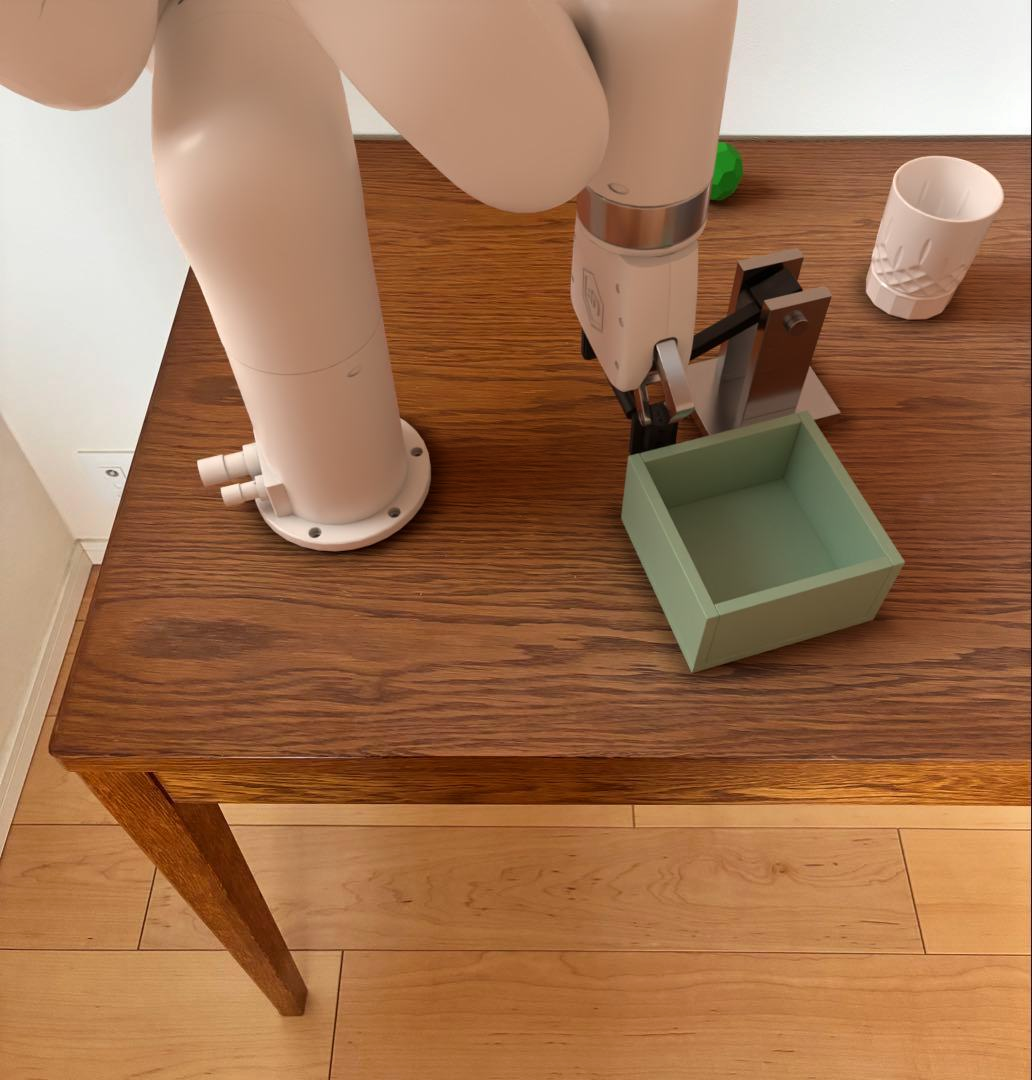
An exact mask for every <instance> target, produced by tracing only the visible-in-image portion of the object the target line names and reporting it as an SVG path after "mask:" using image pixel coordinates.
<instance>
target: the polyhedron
mask: <svg viewBox="0 0 1032 1080" xmlns="http://www.w3.org/2000/svg"><path fill="white" fill-rule="evenodd" d="M743 175H744V166H743V159H742V155H741V153H740V152H739V150H737V149H736V148H735V146H734V145H733V144H731V143H729V142H723V141H718V146H717V153H716V160H715V166H714V175H713V182H712V189H711V196H710V201H723V200H725V199H726V198H728V197H730V196H732V195H733V194H734V192H735V191H736V190H737V188H738V187H739V185H740V183H741V180H742V179H743Z"/></svg>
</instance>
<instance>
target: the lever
mask: <svg viewBox="0 0 1032 1080" xmlns="http://www.w3.org/2000/svg"><path fill="white" fill-rule="evenodd" d="M801 291H804V289H803V287H802V286H801V283H799V280H798V281H797V280H796V278H795V277H794V276H793V274H792V273H791V271H790V270H789V268H788V267H786V268H784V269H783V270H781V271H779V272H777V273H776V274H774V275H772V276H770V277H769V278H767V279H765V280H763V281H762V282H760V283H758V284H756V285H755V286H753V287H751V288H750V292H751V294H752V297H753V300H754V301H753V302H751V303H750V304H748V305H746V306H744V307H743V308H741V309H739V310H737V311H736V312H734V313H732V314H730V315H729V316H727V315H726V316H725V317H723V318H722V319H720V320H718V321H716V322H715V323H713V324H711V325H709V326H707V327H705V328H704V329H702V330H701V331H699V332H697V333H696V334H695V333H694V337H693V344H692V350H691V355H690V360H689V363H690V362H691V361H693V360H695V359H697V358H699V357H701V356H703V355H704V354H706V353H708V352H709V351H711V350H712V349H713V350H714V348H716V347H718V346H720V345H721V344H722V343H723V342H725V341H727V340H729V339H730V338H732V337H734V336H736V335H738V334H739V333H741V332H743V331H745V330H746V329H748V328H750V327H752V326H753V325H755V324H757V323H759V319H760V315H761V311H762V306H763V302H764V300H767V299H772V298H776V297H780V296H784V295H789V294H793V293H797V292H801ZM601 369H602V371H603V374H604V376H605V377H606V379H607V382H608V383H609V386H610V387H611V390H612V392H613V393H614V395H615V396H614V397H616V400H617V402H618V403H619V406H620V408H621V409H622V412H623V413H624V417H626V419H627V420H629V421H631V420H632V415H633V414H634V413H636V412H637V407H636V402H635V396H634V391H633V390H630V391H626V392H622V391H620V390H618V389H617V388H616V387H615V386H614V385H612V383H611V382H610V381H609V379H608V377H607V375H606V374H605V372H604V370H603V368H602V367H601ZM656 370H657V367H656V364H655V361H654V360H653V362H652V367H651V369H650V370H649V372H652V371H656ZM648 386H649V385H646V387H648Z"/></svg>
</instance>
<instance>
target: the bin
mask: <svg viewBox="0 0 1032 1080" xmlns="http://www.w3.org/2000/svg"><path fill="white" fill-rule="evenodd" d="M620 520H621V522H622V524H623V526H624V528H625V531H626V533H627V535H628V537H629V539H630V541H631V544H632V545H633V548H634V550H635V552H636V555H637V557H638V558H639V561H640V563H641V566H642V567H643V569H644V572H645V574H646V577H647V578H648V581H649V582H650V585H651V588H652V590H653V591H654V594H655V596H656V598H657V600H658V602H659V605H660V607H661V609H662V611H663V614H664V616H665V618H666V620H667V623H668V624H669V627H670V628H671V631H672V634H673V636H674V637H675V640H676V642H677V644H678V646H679V648H680V651H681V653H682V655H683V657H684V659H685V661H686V664H687V666H688V668H689V670H690V673H691V674H694V673H697V672H701V671H704V670H708V669H711V668H715V667H718V666H721V665H724V664H728V663H732V662H735V661H738V660H741V659H745V658H749V657H752V656H755V655H759V654H762V653H766V652H769V651H773V650H776V649H779V648H782V647H786V646H789V645H793V644H797V643H800V642H803V641H806V640H810V639H813V638H816V637H821V636H824V635H826V634H830V633H834V632H838V631H840V630H844V629H847V628H850V627H854V626H857V625H861V624H864V623H867V622H871V621H874V619H875V617H876V615H877V613H878V612H879V610H880V608H881V606H882V605H883V603H884V601H885V599H886V598H887V596H888V594H889V593H890V591H891V589H892V587H893V585H894V584H895V581H897V580H896V579H897V577H898V576H899V575H900V572H901V571H902V569H903V568H904V565H905V563H906V561H905V560H904V558H903V557H902V555H901V554H900V552H899V550H898V548H897V547H896V546H895V544H894V543H893V541H892V540H891V537H889V535H888V533H887V531H886V530H885V529H884V527H883V526H882V524H881V522H880V521H879V519H878V518H877V515H875V513H874V511H873V510H872V508H871V507H870V505H869V503H868V502H867V501H866V498H865V497H864V496H863V495H862V493H861V491H860V489H859V488H858V487H857V485H856V483H855V482H854V480H853V479H852V477H851V476H850V474H849V473H848V470H846V467H845V466H844V465H843V463H842V462H841V460H840V458H839V457H838V456H837V454H836V452H835V451H834V449H833V448H832V446H831V444H830V443H829V441H828V440H827V438H826V437H825V435H824V433H823V432H822V431H821V429H820V427H818V426H817V424H816V423H815V421H814V420H813V418H812V416H811V415H810V413H809V412H808V411H803V412H799V413H797V414H791V415H788V416H784V417H780V418H776V419H772V420H768V421H764V422H760V423H756V424H752V425H748V426H745V427H741V428H737V429H733V430H729V431H725V432H721V433H717V434H713V435H709V436H705V437H703V436H701V437H698V438H694V439H690V440H686V441H682V442H677V443H676V444H674V445H670V446H666V447H662V448H658V449H655V450H651V451H647V452H643V453H640V454H639V453H638V454H634V455H628V456H627V463H626V473H625V480H624V489H623V498H622V507H621V515H620Z"/></svg>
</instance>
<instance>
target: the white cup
mask: <svg viewBox="0 0 1032 1080" xmlns="http://www.w3.org/2000/svg"><path fill="white" fill-rule="evenodd" d="M891 181H892V182H891V186H890V189H889V192H888V196H887V199H886V203H885V207H884V210H883V213H882V217H881V220H880V224H879V227H878V231H877V234H876V239H875V244H874V246H873V249H872V255H871V261H870V266H869V268H868V272H867V274H866V279H865V294H866V295H867V296H868V298H869V299H870V301H871V303H872V304H873V305H874V306H875V307H877V308H878V309H880V310H881V311H882V312H885V313H886V314H887V315H890V316H894V317H896V318H901V319H905V320H928V319H930V318H933V317H935V316H937V315H940V314H942V313H943V311H944V310H945V309H946V307H947V306H948V305H949V304H950V302H951V301H952V298H953V296H954V295H955V292H956V290H957V288H958V286H959V285H960V284H961V283H962V281H963V280H964V278H965V276H966V274H967V273H968V271H969V269H970V267H971V266H972V263H973V262H974V260H975V258H976V256H977V254H978V252H979V250H980V248H981V247H982V244H983V242H984V240H985V238H986V236H987V234H988V233H989V231H990V229H991V227H992V225H993V223H994V221H995V219H996V217H997V215H998V213H999V211H1000V210H1001V208H1002V206H1003V204H1004V200H1005V193H1004V189H1003V187H1002V185H1001V183H1000V181H999V180H998V179H997V178H996V176H994V175H993V174H992V173H991V172H989V170H987V169H985V168H983V167H982V166H981V165H978V164H977V163H973V162H971V161H969V160H965V159H962V158H958V157H955V156H954V157H953V156H948V155H947V156H945V155H929V156H928V155H927V156H921V157H917V158H913V159H911V160H909V161H907V162H905V163H904V164H902V165H901V166H899V168H898V169H897V170H896V171H895V172H894V175H893V179H892V180H891Z"/></svg>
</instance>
